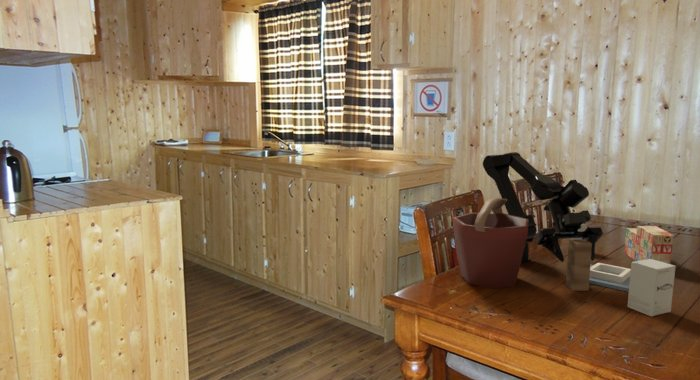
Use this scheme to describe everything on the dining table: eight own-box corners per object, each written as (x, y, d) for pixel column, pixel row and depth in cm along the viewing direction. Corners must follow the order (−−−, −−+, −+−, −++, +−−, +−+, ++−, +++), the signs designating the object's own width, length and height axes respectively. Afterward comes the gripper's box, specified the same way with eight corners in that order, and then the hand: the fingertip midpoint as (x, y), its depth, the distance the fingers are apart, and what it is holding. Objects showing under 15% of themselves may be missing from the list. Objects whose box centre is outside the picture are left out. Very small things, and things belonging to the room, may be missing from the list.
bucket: (481, 262, 176) (484, 190, 172) (544, 277, 161) (548, 198, 157) (438, 280, 159) (440, 200, 155) (503, 298, 144) (507, 210, 140)
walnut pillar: (565, 285, 154) (568, 239, 151) (580, 284, 154) (583, 239, 152) (573, 290, 149) (576, 243, 147) (588, 290, 150) (591, 243, 147)
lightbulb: (568, 252, 188) (569, 222, 186) (567, 247, 194) (569, 219, 192) (586, 253, 186) (588, 223, 184) (585, 249, 191) (587, 220, 189)
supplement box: (652, 317, 131) (656, 269, 128) (626, 307, 137) (630, 261, 135) (672, 312, 133) (676, 265, 131) (645, 302, 140) (649, 257, 138)
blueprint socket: (572, 279, 159) (572, 270, 158) (590, 267, 170) (591, 258, 170) (629, 292, 148) (630, 281, 148) (644, 278, 159) (645, 268, 159)
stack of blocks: (623, 252, 187) (626, 219, 185) (641, 253, 186) (644, 219, 184) (649, 271, 166) (652, 234, 164) (670, 272, 165) (674, 234, 163)
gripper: (541, 201, 153) (557, 247, 144) (602, 200, 154) (621, 245, 145) (529, 222, 162) (543, 266, 153) (586, 220, 163) (604, 264, 154)
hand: (578, 260), depth 151 cm, fingers open, 9 cm apart
